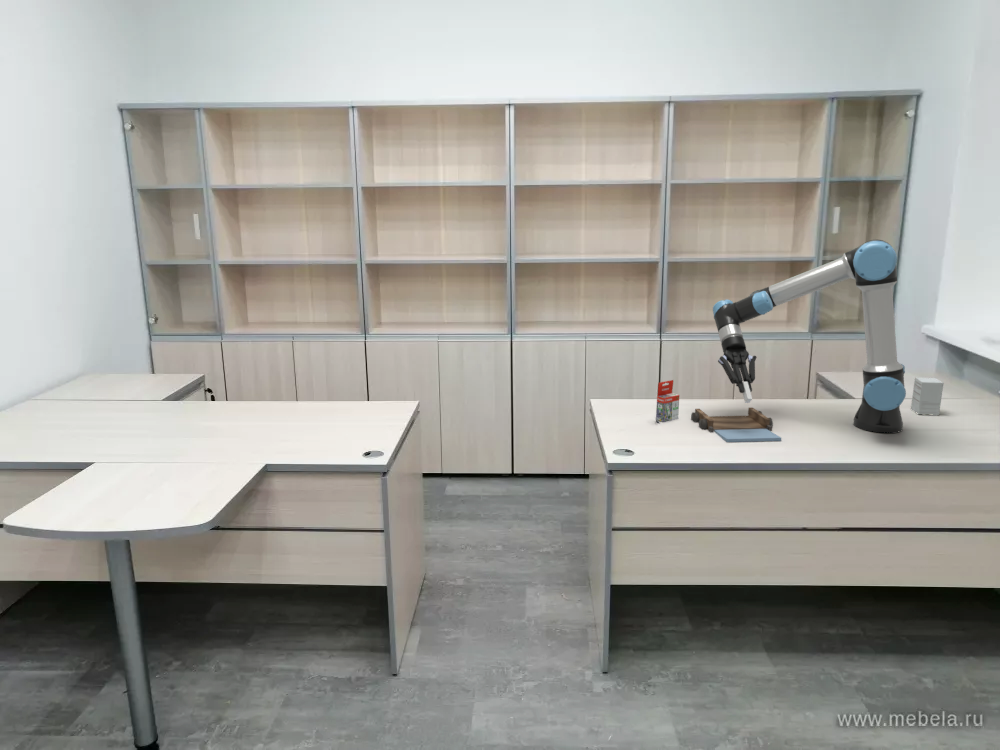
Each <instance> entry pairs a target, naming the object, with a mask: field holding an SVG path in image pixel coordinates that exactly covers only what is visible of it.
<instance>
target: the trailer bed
mask: <svg viewBox="0 0 1000 750" xmlns="http://www.w3.org/2000/svg"><path fill="white" fill-rule="evenodd" d="M690 415H691V416H690V420H691V421H692V422H693V423H698V427H699V428H700V429H701V430H707V431H708V432H709V433H714V430H715V429H757V428H766V429H768V430H769V431H771V432H773V426H774V423H773V421H774V420H773V418H771V417H767V416H766V415H764V414H763V412H762V411H761V410H757V409H756V408H754V407H748V411H747V415H719V416H716V415H715V416H714V415H713V416H709V415H708V414H706V413H705V411H704V410H702V409H700V408H695V410H694V412H691V414H690Z"/></svg>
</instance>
